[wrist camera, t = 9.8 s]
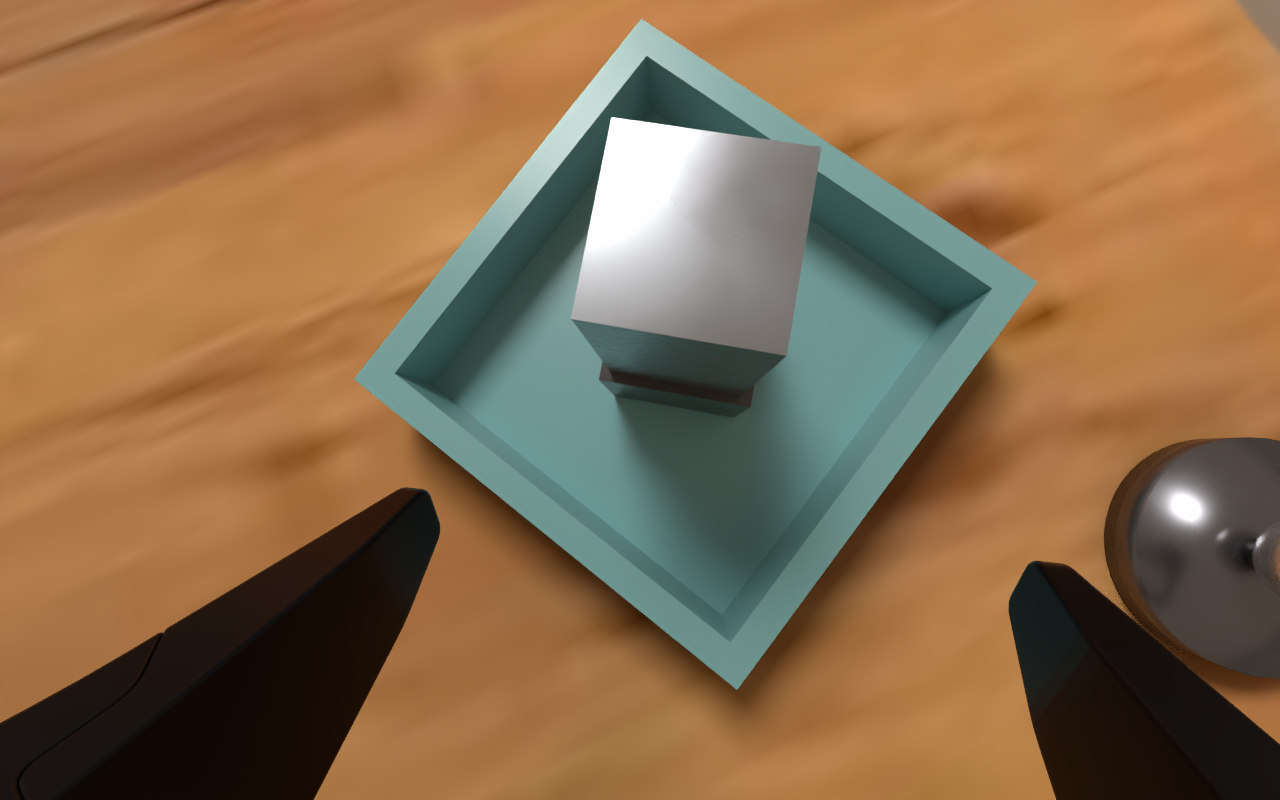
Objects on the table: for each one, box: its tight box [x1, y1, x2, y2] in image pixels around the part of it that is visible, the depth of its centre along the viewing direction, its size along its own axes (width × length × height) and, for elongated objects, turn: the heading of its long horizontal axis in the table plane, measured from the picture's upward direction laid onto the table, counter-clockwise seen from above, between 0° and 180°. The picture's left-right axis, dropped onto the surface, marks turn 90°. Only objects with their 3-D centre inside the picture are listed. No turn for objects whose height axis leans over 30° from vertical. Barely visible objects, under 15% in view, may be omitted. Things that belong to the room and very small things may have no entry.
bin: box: [354, 19, 1037, 690], centre depth 20 cm, size 16×16×4 cm
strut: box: [571, 117, 821, 418], centre depth 16 cm, size 5×5×11 cm
